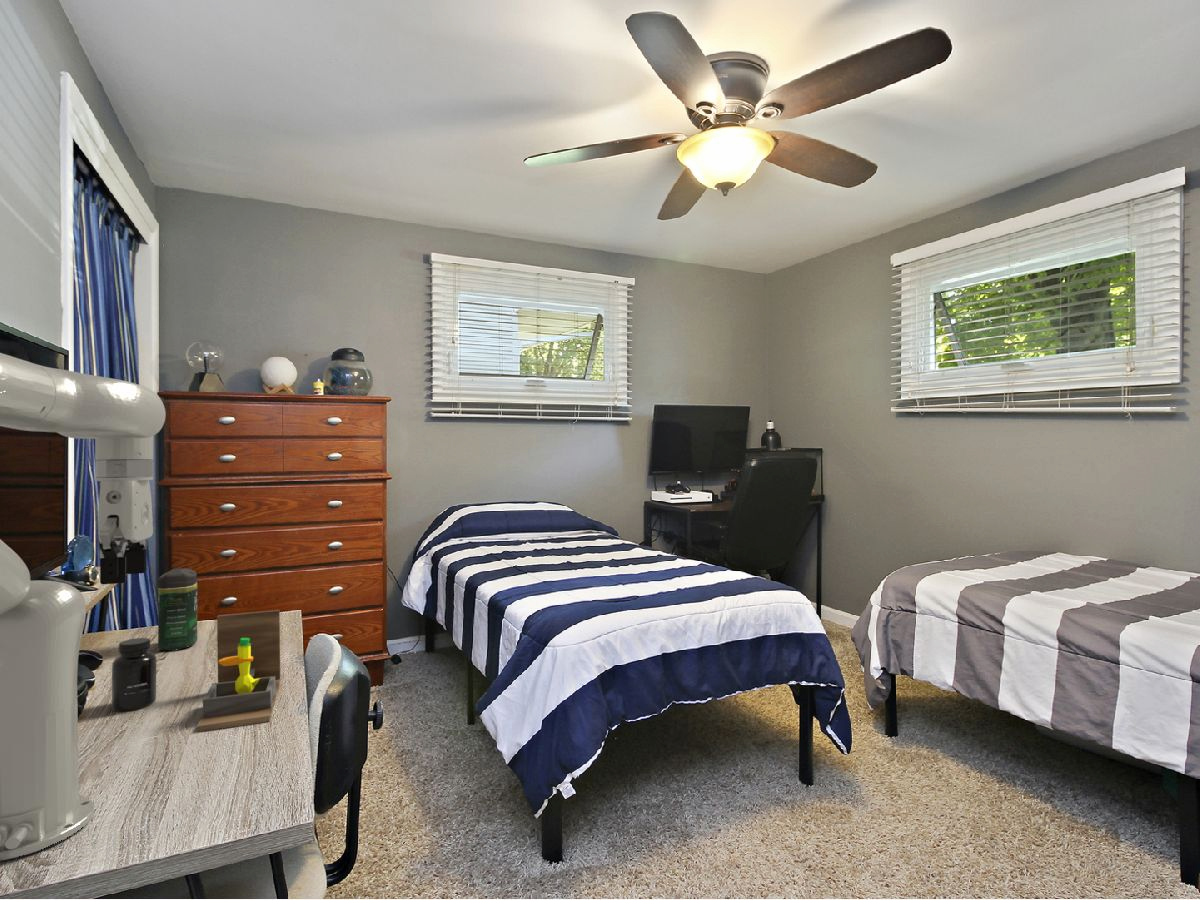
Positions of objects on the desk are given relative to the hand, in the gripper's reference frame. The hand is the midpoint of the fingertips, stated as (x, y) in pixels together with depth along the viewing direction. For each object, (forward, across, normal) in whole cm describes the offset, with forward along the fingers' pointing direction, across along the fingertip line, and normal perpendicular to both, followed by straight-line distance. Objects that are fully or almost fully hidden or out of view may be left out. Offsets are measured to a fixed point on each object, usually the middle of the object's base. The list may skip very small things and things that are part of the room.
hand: (124, 578), depth 104 cm
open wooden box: (+27, +14, -15) cm, 34 cm away
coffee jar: (+26, +60, +7) cm, 66 cm away
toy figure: (+26, +12, -15) cm, 32 cm away
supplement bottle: (+27, +21, +5) cm, 35 cm away
